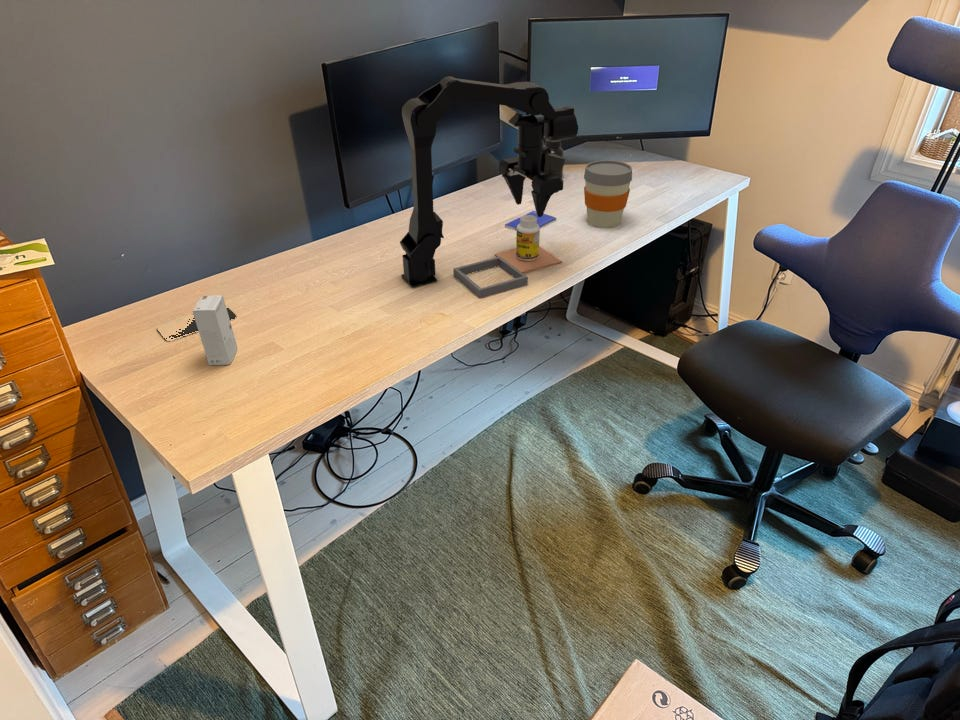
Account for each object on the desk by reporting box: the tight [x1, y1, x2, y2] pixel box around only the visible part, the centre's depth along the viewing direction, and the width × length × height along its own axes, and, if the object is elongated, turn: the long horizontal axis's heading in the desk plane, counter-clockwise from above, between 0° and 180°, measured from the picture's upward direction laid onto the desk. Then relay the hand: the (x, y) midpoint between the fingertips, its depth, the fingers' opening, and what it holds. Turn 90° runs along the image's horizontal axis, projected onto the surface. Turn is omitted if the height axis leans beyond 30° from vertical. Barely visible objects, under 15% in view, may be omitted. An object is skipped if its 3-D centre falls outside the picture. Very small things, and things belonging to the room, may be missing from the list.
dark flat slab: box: [166, 307, 237, 339], centre depth 143 cm, size 7×1×15 cm
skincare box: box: [192, 294, 238, 366], centre depth 129 cm, size 6×4×12 cm
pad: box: [493, 245, 563, 274], centre depth 166 cm, size 12×12×1 cm
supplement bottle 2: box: [541, 138, 565, 179], centre depth 212 cm, size 7×7×12 cm
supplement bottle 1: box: [515, 214, 541, 261], centre depth 163 cm, size 6×6×10 cm
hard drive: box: [504, 210, 557, 232], centre depth 185 cm, size 2×8×12 cm
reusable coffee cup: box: [583, 159, 633, 229], centre depth 181 cm, size 13×13×15 cm
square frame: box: [452, 256, 529, 299], centre depth 157 cm, size 13×13×2 cm
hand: (529, 210), depth 159 cm, fingers open, 9 cm apart
